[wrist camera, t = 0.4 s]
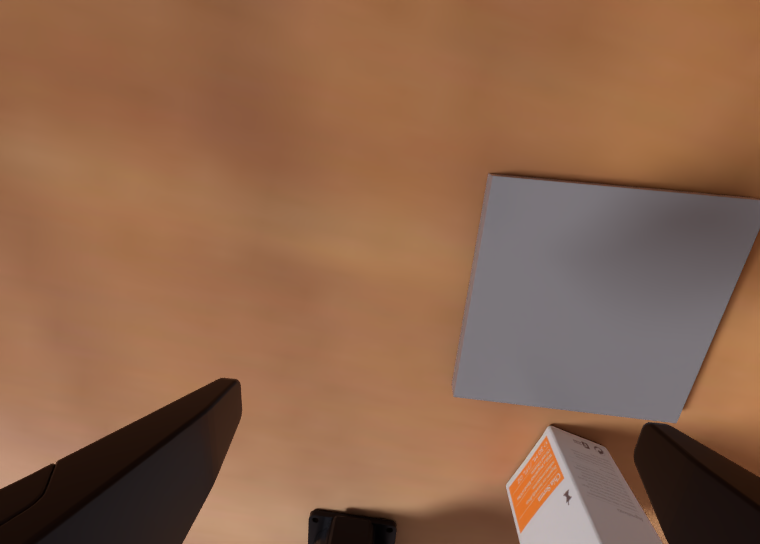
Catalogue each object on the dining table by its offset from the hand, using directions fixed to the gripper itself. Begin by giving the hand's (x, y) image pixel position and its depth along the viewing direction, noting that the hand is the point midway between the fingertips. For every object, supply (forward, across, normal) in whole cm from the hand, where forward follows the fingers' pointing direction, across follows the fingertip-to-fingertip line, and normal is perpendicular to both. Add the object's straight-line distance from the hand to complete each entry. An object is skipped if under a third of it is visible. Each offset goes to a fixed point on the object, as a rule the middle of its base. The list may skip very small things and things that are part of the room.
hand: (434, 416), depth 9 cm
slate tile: (+14, -9, +2) cm, 17 cm away
